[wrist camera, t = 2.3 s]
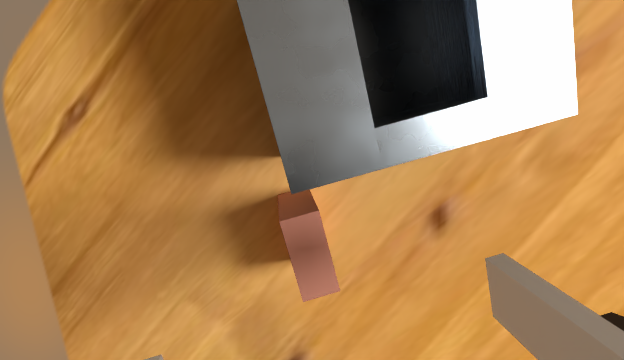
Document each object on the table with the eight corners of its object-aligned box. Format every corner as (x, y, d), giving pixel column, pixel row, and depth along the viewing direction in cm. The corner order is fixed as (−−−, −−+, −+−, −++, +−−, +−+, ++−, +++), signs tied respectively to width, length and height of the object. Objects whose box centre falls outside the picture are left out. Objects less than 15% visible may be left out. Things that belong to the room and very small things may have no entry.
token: (296, 258, 26) (303, 301, 20) (277, 195, 25) (279, 221, 19) (325, 250, 26) (340, 290, 21) (307, 186, 25) (318, 210, 19)
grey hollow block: (283, 156, 24) (291, 194, 14) (233, -20, 22) (195, -144, 11) (448, 111, 25) (577, 114, 14) (421, -65, 22) (558, -223, 12)
